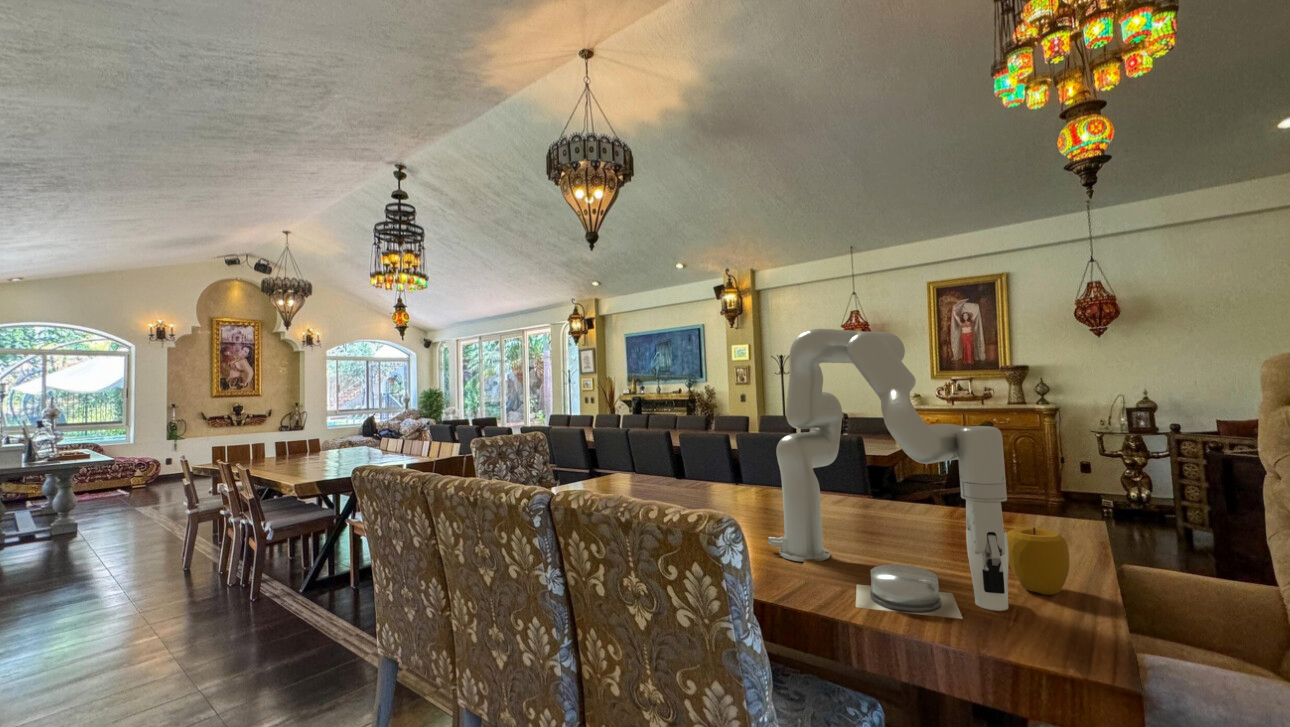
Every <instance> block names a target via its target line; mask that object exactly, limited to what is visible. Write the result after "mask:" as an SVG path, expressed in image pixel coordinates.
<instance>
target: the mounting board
mask: <svg viewBox="0 0 1290 727" xmlns="http://www.w3.org/2000/svg"><path fill="white" fill-rule="evenodd" d="M871 590H872V587H871V585H868V584H867V585H866V584H858V583H857V584H856V591H855V593H856V594H855V608H857V609H867V610H876V611H883V612H892V613H895V612H896V613H902V614H903V613H904V614H910V613H909V612H901V611H896V610H892V609H888V608H885V607H882V606H880V605H878V604H876V603H875V602H874V601H873V600H872V599H871V596H870V591H871ZM939 597H940V599H941V607H940V608H939V609H938V610H936V611H932V612H927V613H911V615H912V614H913V615H914V614H915V615H921V616H922V615H924V616H931V617H932V616H933V617H942V618H950V619H951V618H952V619H962V620H963V619H964V618H963V616H962V613H961V611H960V608H959V606H958V604H957V601H956V599H955V596H954V594H953V592H945V591H939Z"/></svg>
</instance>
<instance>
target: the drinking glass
mask: <svg viewBox="0 0 1290 727" xmlns="http://www.w3.org/2000/svg"><path fill="white" fill-rule="evenodd" d="M965 528H966V529H965V536H966V537H965V539H966V551H967V557H968V562H969V569H970V574H971V575H970V576H971V581H972V582H971V583H972V587H973V594H974V604H975V605H976V606H977V607H980V608H982V609H985V610H986V609H987V610H990V611H996V612H997V611H998V612H1001V611H1006V610H1008V609H1009V567H1010V564H1009V548H1008V538H1007V532H1008V531H1006V530H1005V529H1004V538H1005V554H1004V555H1002V556H1001V562H1002V569H1003V576H1004V589H1005V593H1004V594H999V593H988V592H985V591H984V584H983V571H982V569H984V563H983V556H982V554H983V553H979V554H976V553H974V552H973V550H972V540H971V531H970V530H969V529H968V528H967V527H965ZM999 550H1000V551H1002V549H1000V548H999ZM985 553H990V549H989V545H988V541H987V545H986V548H985ZM1000 555H1001V554H1000ZM988 559H991V558H990V557H987V561H988Z"/></svg>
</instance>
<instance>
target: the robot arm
mask: <svg viewBox="0 0 1290 727" xmlns="http://www.w3.org/2000/svg"><path fill="white" fill-rule="evenodd" d="M905 353H906V351H905V346H904V343H903V340H901V339H900V337H899V336H897V335H895V334H894V333H891V332H886V331H885V332H884V331H862V330H849V329H833V328H814V329H809V330H806V331H804V332H802V333H800V334H799V335H798V336H796V338H795V339H794V340H793V342H792V344H791V345H790V350H789V380H788V387H787V388H788V389H787V397H786V408H785V409H786V410H785V417H786V421H787V424H789V426H791V427H792V428H793V429H798V430H808V429H809V432H797V433H796V432H795V433H791V434H788V435H785V436H784V437H782V438H780V440H779V442H778V443H777V444H776V445H777V446H776V449H775V450H776V458H777V463H778V466H779V468H778V469H779V471H780V479H781V489H782V490H781V491H782V492H781V493H782V505H783V506H782V507H783V508H782V509H783V523H784V524H783V526H784V535H783V536H782V535H781V536H780V537H775V536H768V540H767V541H768V545H771V547H780V548H779V555H780V556H781V557H782V558H784V559H786V560H789V561H794V562H802V563H804V562H805V561H819V562H822V561H826V560H828V559H829V558H830V556H831V554H830V553H831V552H830V550H829V549H827V548H826V547H824V541H823V540H824V539H823V520H822V507H821V506H822V505H821V489H820V483H819V480H818V478H817V476H816V474H815V472H814V469H815V468H821V467H826V466H829V465H831V464H833V463H834V461H835V460H836V459H837V457H838V454H839V450H840V440H841V433H842V432H841V431H842V422H843V410H842V404H841V402H840V401H839V399H838V398H837V396H835V395H834V394H833V393H830V392H827V391H823V385H824V374H823V372H822V371H823V370H822V368H821V366H820V364H823V363H824V364H825V363H826V364H830V363H831V364H853V366H855V368H856V369H857V370H858V372H859V373H860V374H861V376H862V377H863V378H864V379H865V381H866V382H867V383H868V385H869V386H870V387H871V388H872V390H873V392H874V393H875V394H876V396H877V397H878V398H879V400H880V407H881V413H882V418H883V420H884V425H885V427H886V428H887V431H888V432H889V433H890V435H891V437H892V438H893V439H894V440H895V443H897V444H898V446H899V448H900V449H902V451H903V452H904V453H905V454H906V456H908V457H909V458H910V459H912V461H915V462H916V463H919V464H925V465H928V464H937V463H940V462H949V461H955V460H958V471H959V472H958V473H959V474H958V476H959V485H960V486H959V487H960V497H961V499H963V500H965V520H966V522H965V523H966V525H965V526H966V527H965V528H968V529H969V530H970V531H971V540H972V550H973V552H974V553H976V554H979V553H983V554H982V556H983V563H984V569H982V571H983V584H984V591H985V592H988V593H999V594H1004V593H1005V589H1004V576H1003V569H1002V562H1001V556H1002V555H1004V554H1005V538H1004V530H1005V527H1004V518H1003V512H1002V511H1003V510H1002V503H1001V502H1006V501H1007V500H1008V495H1007V494H1008V492H1007V482H1006V481H1007V479H1006V469H1005V468H1006V467H1005V457H1004V442H1003V440H1004V439H1003V434H1002V432H1001V430H1000V429H999V428H998V427H995V426H988V425H987V426H986V425H971V426H970V425H969V426H965V425H960V424H959V425H957V424H953V423H951V424H950V423H940V424H939V423H938V424H935V423H934V424H929V425H928V424H927V423H926V422H925V420H924V419H923V418H922V416H920V414H919V413H918V411H917V410H916V409H915V407H914V405H913V402H912V401H911V400H912V399H911V391H912V390H913V389H914V388H915V387H916V386H915V385H916V383H917V380H916V378H915V376H914V374H913V373H912V372H911V371H910V369H909V368H908V367H907V366H906V365H905V364H904V363H903V359H904V358H905ZM987 541H988V545H989V549H990V553H985V548H986V545H987ZM999 548H1000V549H1002V551H1000V550H999ZM1000 554H1001V555H1000ZM987 557H990V558H991V559H988V561H987Z"/></svg>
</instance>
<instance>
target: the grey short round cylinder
mask: <svg viewBox="0 0 1290 727" xmlns="http://www.w3.org/2000/svg"><path fill="white" fill-rule="evenodd" d="M938 578H939V577H938V575H937V574H936V573H934V572H932V571H931V570H928V569H925V568H923V567H922V568H921V567H918V566H914V565H906V564H882V565H877V566H874V567H873V568H871V569H870V584H871V585H870V586H871V587H872V590H871V591H870V596H871V599H872V600H873V601H874V602H875V603H876V604H878V605H880V606H882V607H885V608H888V609H892V610H896V611H901V612H900V613H902V612H909V613H908V614H912V613H927V612H932V611H936V610H938V609H939V608H940V607H941V599H940V597H939V592H940V591H939V590H940V589H939V579H938Z"/></svg>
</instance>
